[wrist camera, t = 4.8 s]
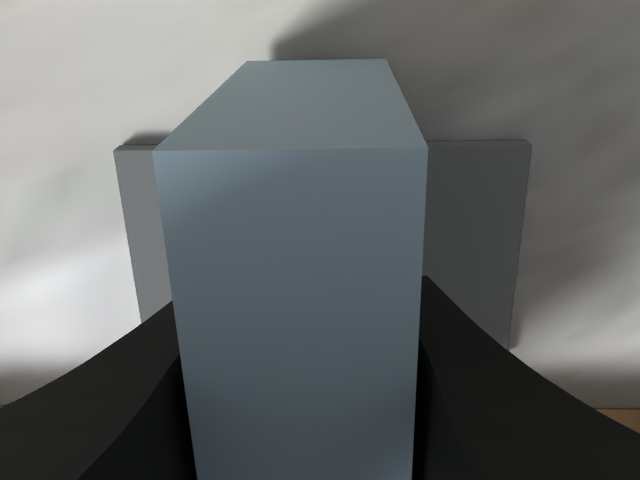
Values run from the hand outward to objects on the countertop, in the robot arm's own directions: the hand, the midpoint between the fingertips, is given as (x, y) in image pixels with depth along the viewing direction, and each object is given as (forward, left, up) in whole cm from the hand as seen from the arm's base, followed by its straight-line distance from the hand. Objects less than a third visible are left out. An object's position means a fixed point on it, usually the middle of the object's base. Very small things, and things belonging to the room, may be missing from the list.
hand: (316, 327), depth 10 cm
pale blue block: (0, 0, -2) cm, 2 cm away
